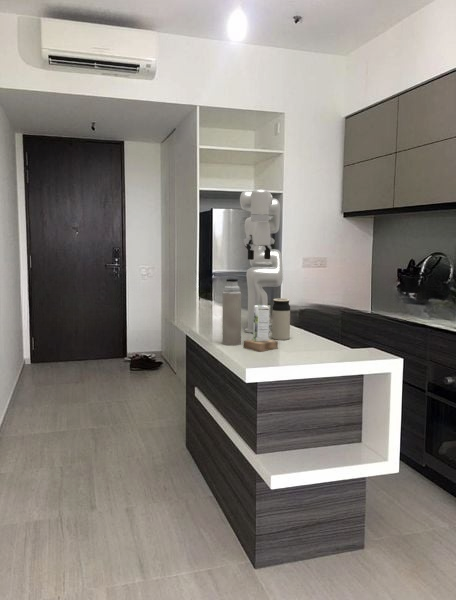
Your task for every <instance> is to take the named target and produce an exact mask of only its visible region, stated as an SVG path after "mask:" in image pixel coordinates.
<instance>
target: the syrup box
mask: <svg viewBox="0 0 456 600" xmlns="http://www.w3.org/2000/svg"><path fill="white" fill-rule="evenodd" d="M269 323H270V307H269V306H265V305H255V306H254V330H253V333H252V334H253V338H252V339H254V341H255V342H268V340H269V333H270V332H269V329H270V327H269Z"/></svg>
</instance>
